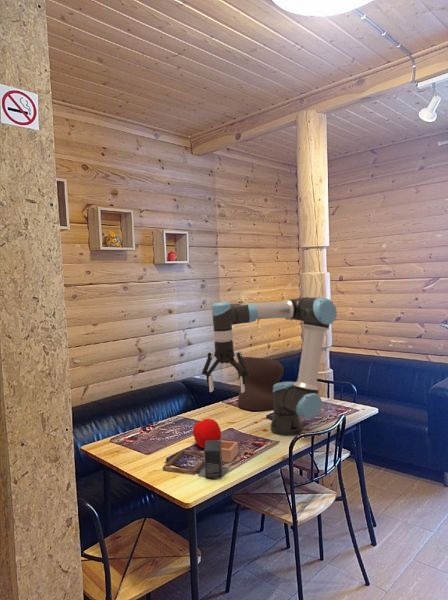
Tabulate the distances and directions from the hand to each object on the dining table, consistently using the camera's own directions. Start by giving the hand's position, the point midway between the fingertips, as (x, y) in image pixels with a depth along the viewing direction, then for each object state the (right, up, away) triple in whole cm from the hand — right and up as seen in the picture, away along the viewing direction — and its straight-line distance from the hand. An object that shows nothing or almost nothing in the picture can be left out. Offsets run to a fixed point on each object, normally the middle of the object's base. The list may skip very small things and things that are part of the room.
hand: (227, 391), depth 182 cm
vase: (+20, -23, +73) cm, 79 cm away
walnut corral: (-16, -28, -3) cm, 33 cm away
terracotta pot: (-1, -28, +2) cm, 28 cm away
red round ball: (-9, -27, +16) cm, 33 cm away
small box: (-5, -28, -12) cm, 31 cm away
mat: (-5, -29, -12) cm, 31 cm away
